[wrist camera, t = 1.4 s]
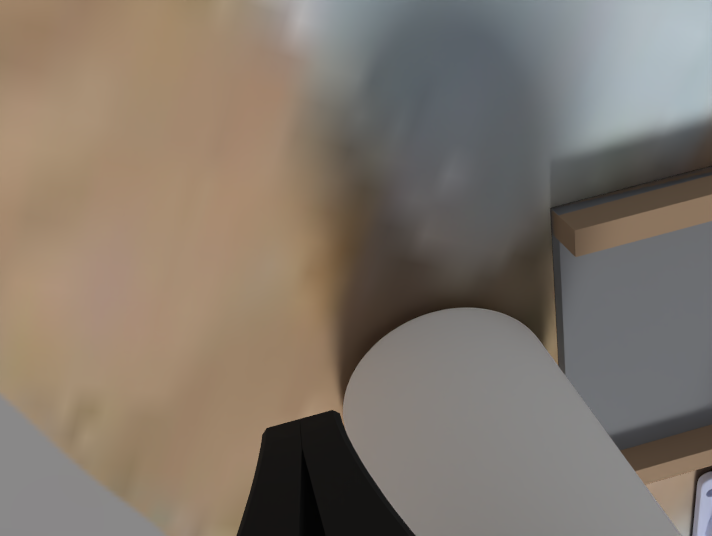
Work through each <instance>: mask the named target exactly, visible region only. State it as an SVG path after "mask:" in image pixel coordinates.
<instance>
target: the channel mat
mask: <svg viewBox="0 0 712 536" xmlns="http://www.w3.org/2000/svg"><path fill="white" fill-rule="evenodd" d="M551 226H552V245H553V264H554V283H555V303H556V322H557V341H558V360H559V368H560V369H561V370H562V372H563V373H564V374H565V376H566V377H567V379H568V380H569V381H570V383H571V384H572V385H573V387H574V388H575V390H576V391H577V392H578V394H579V395H580V396H581V398H582V399H583V401H584V402H585V403H586V405H587V406H588V407H589V409H590V410H591V412H592V413H593V414H594V416H595V417H596V418H597V420H598V421H599V423H600V424H601V425H602V427H603V428H604V429H605V431H606V432H607V434H608V435H609V436H610V438H611V439H612V440H613V442H614V443H615V445H616V446H617V447H618V449H619V450H620V451H621V453H622V454H623V456H624V457H625V458H626V460H627V461H628V462H629V464H630V465H631V466H632V468H633V469H634V471H635V472H636V473H637V475H638V476H639V477H640V479H641V480H642V482H643V483H644V484H645V485H646V484H650V483H653V482H657V481H660V480H663V479H667V478H670V477H674V476H677V475H681V474H684V473H688V472H691V471H695V470H698V469H702V468H705V467H709V466H712V166H711V167H707V168H703V169H699V170H695V171H691V172H688V173H684V174H680V175H676V176H672V177H668V178H665V179H661V180H657V181H653V182H649V183H646V184H642V185H638V186H634V187H630V188H626V189H623V190H619V191H615V192H611V193H607V194H603V195H600V196H596V197H592V198H588V199H584V200H581V201H577V202H573V203H569V204H565V205H561V206H558V207H554V208H551Z"/></svg>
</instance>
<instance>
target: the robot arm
mask: <svg viewBox="0 0 712 536" xmlns="http://www.w3.org/2000/svg"><path fill="white" fill-rule="evenodd" d="M237 536H416V535H415V534H414V533H413V532H412V531H411V529H410V528H409V527H408V526H407V524H406V523H405V522H404V521H403V519H402V518H401V517H400V516H399V514H398V513H397V512H396V511H395V509H394V508H393V507H392V505H391V504H390V503H389V501H388V500H387V498H386V497H385V496H384V494H383V493H382V491H381V490H380V488H379V487H378V486H377V484H376V483H375V481H374V480H373V478H372V477H371V475H370V474H369V472H368V471H367V469H366V468H365V466H364V464H363V463H362V461H361V459H360V458H359V456H358V454H357V452H356V451H355V449H354V447H353V445H352V443H351V441H350V439H349V437H348V435H347V433H346V431H345V428H344V425H343V423H342V419H341V416H340V413H338V412H336V411H333V410H331V411H328V412H324V413H320V414H317V415H313V416H309V417H306V418H302V419H298V420H295V421H291V422H287V423H284V424H280V425H276V426H273V427H269V428H267V429H266V430H265V432H264V433H263V435H262V442H261V448H260V453H259V458H258V462H257V467H256V471H255V475H254V479H253V483H252V487H251V491H250V494H249V497H248V501H247V504H246V507H245V511H244V514H243V517H242V520H241V524H240V527H239V530H238V533H237ZM692 536H712V471H711V472H707V473H705V474H703V475H702V476H701V477H700V478H699V479H698V482H697V493H696V503H695V514H694V524H693V535H692Z"/></svg>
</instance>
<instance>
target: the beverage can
mask: <svg viewBox="0 0 712 536" xmlns="http://www.w3.org/2000/svg"><path fill="white" fill-rule="evenodd" d="M343 419H344V424H345V429H346V433H347V435H348V437H349V439H350V441H351V443H352V445H353V447H354V449H355V451H356V452H357V454H358V456H359V458H360V459H361V461H362V463H363V464H364V466H365V468H366V469H367V471H368V472H369V474H370V475H371V477H372V478H373V480H374V481H375V483H376V484H377V486H378V487H379V488H380V490H381V491H382V493H383V494H384V496H385V497H386V498H387V500H388V501H389V503H390V504H391V505H392V507H393V508H394V509H395V511H396V512H397V513H398V514H399V516H400V517H401V518H402V519H403V521H404V522H405V523H406V524H407V526H408V527H409V528H410V529H411V531H412V532H413V533H414V534H415V535H416V536H682V535H681V534H680V532H679V531H678V530H677V528H676V527H675V526H674V524H673V523H672V521H671V520H670V519H669V517H668V516H667V515H666V513H665V512H664V510H663V509H662V508H661V506H660V505H659V504H658V502H657V501H656V499H655V498H654V497H653V495H652V494H651V493H650V491H649V490H648V488H647V487H646V486H645V484H644V483H643V482H642V480H641V479H640V477H639V476H638V475H637V473H636V472H635V471H634V469H633V468H632V466H631V465H630V464H629V462H628V461H627V460H626V458H625V457H624V456H623V454H622V453H621V451H620V450H619V449H618V447H617V446H616V445H615V443H614V442H613V440H612V439H611V438H610V436H609V435H608V434H607V432H606V431H605V429H604V428H603V427H602V425H601V424H600V423H599V421H598V420H597V418H596V417H595V416H594V414H593V413H592V412H591V410H590V409H589V407H588V406H587V405H586V403H585V402H584V401H583V399H582V398H581V396H580V395H579V394H578V392H577V391H576V390H575V388H574V387H573V385H572V384H571V383H570V381H569V380H568V379H567V377H566V376H565V374H564V373H563V372H562V370H561V369H560V368H559V366H558V365H557V364H556V362H555V361H554V359H553V358H552V357H551V355H550V354H549V353H548V351H547V350H546V348H545V347H544V346H543V344H542V343H541V342H540V340H539V339H538V338H537V336H536V335H535V334H534V333H533V332H532V331H531V330H530V329H529V328H528V327H527V326H525V325H524V324H523V323H521V322H520V321H518V320H516V319H514V318H512V317H510V316H508V315H506V314H503V313H500V312H497V311H493V310H488V309H482V308H467V307H466V308H451V309H445V310H440V311H435V312H432V313H428V314H425V315H422V316H420V317H417V318H415V319H412V320H410V321H408V322H406V323H404V324H402V325H401V326H399V327H397V328H396V329H394V330H392V331H391V332H389V333H388V334H387V335H385V336H384V337H383V338H382V339H380V340H379V341H378V342H377V343H376V344H375V345H374V346H373V347H372V348H371V349H370V350H369V351H368V352H367V353H366V354H365V356H364V357H363V358H362V360H361V361H360V362H359V364H358V365H357V367H356V368H355V370H354V372H353V374H352V376H351V378H350V380H349V383H348V386H347V388H346V392H345V396H344V402H343Z"/></svg>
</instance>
